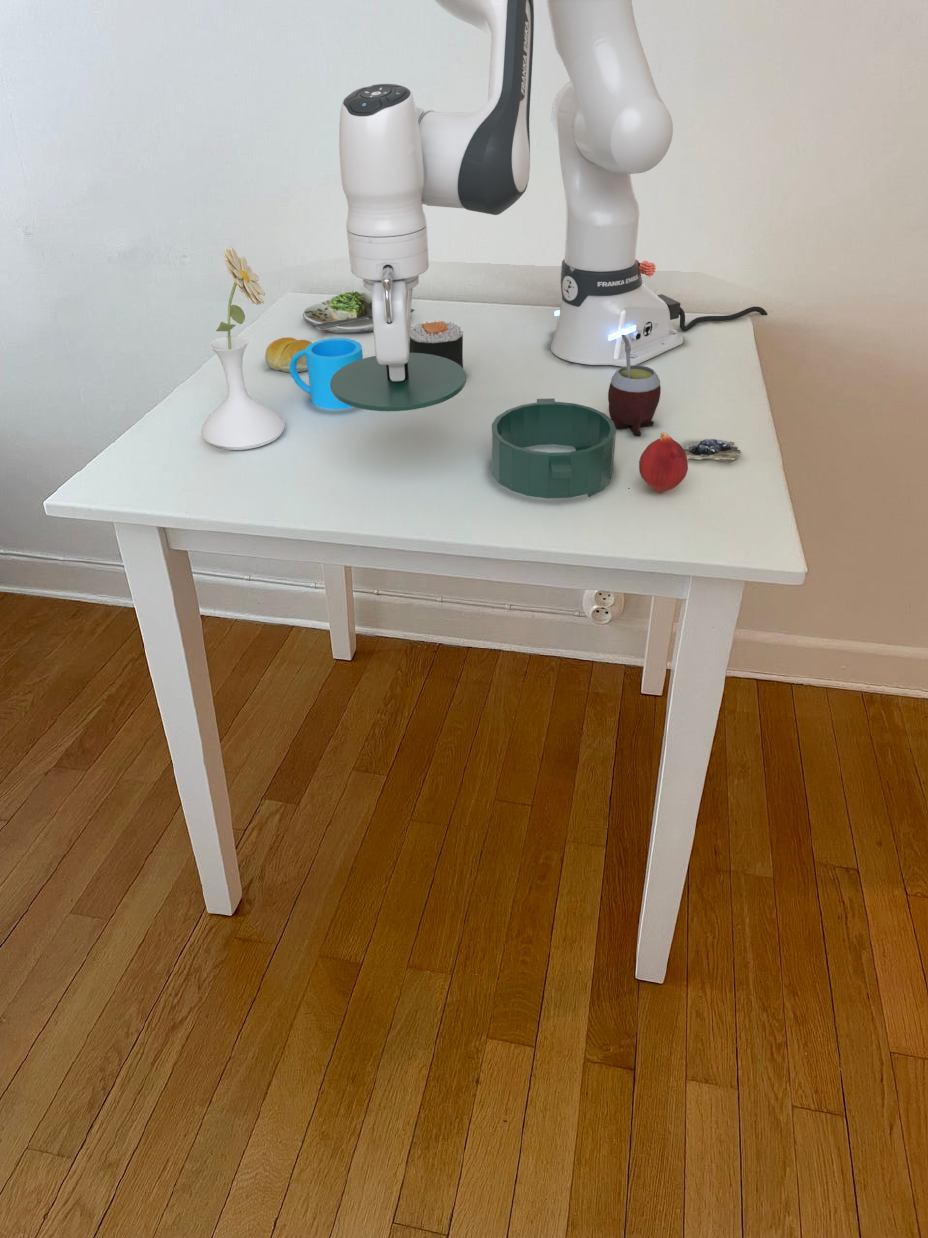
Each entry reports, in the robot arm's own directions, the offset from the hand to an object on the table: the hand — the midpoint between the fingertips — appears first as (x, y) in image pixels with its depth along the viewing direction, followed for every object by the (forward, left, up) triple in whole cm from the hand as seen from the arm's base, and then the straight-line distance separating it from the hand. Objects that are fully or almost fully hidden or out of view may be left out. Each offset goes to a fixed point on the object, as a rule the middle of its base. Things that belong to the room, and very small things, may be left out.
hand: (398, 372), depth 114 cm
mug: (-3, -28, -14) cm, 32 cm away
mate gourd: (-33, +6, -14) cm, 37 cm away
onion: (-24, +22, -14) cm, 35 cm away
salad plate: (-24, -57, -14) cm, 64 cm away
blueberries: (-36, +18, -14) cm, 43 cm away
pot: (-16, +10, -14) cm, 24 cm away
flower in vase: (+12, -23, -14) cm, 30 cm away
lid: (0, 0, -1) cm, 1 cm away
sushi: (-21, -26, -14) cm, 36 cm away
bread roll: (-5, -44, -14) cm, 47 cm away
